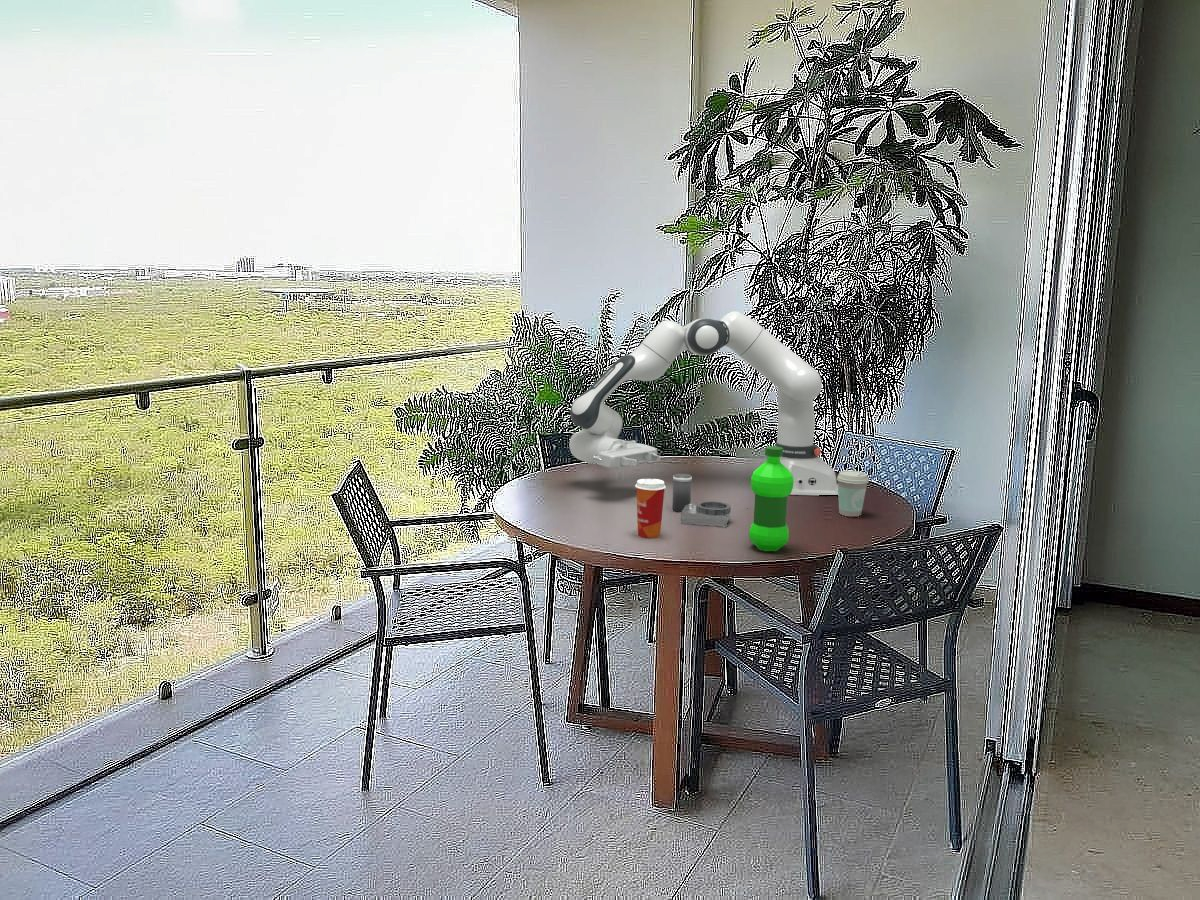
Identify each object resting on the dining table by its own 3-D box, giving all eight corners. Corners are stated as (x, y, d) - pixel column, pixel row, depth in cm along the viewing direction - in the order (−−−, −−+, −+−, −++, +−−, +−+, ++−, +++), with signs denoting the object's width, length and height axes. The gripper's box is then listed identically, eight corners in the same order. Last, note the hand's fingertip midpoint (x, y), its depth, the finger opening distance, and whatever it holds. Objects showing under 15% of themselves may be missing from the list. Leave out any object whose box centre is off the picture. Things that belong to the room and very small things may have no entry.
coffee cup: (848, 520, 253) (852, 477, 251) (827, 513, 261) (830, 471, 258) (872, 517, 257) (875, 475, 255) (851, 510, 265) (854, 469, 262)
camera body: (731, 518, 252) (732, 502, 252) (727, 527, 244) (728, 510, 243) (685, 514, 255) (686, 499, 254) (680, 523, 247) (681, 507, 246)
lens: (691, 508, 262) (693, 474, 260) (688, 513, 257) (690, 478, 255) (673, 507, 263) (674, 473, 261) (670, 511, 258) (671, 476, 256)
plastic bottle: (795, 554, 222) (801, 452, 217) (751, 554, 221) (757, 451, 216) (783, 542, 232) (789, 444, 227) (742, 542, 231) (747, 443, 226)
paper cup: (632, 530, 239) (633, 477, 236) (661, 530, 239) (663, 477, 237) (635, 539, 231) (637, 485, 228) (666, 539, 232) (668, 485, 229)
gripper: (588, 446, 267) (624, 454, 258) (636, 439, 282) (671, 446, 272) (588, 468, 268) (623, 476, 259) (635, 459, 283) (670, 467, 274)
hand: (648, 461), depth 266 cm, fingers open, 8 cm apart
